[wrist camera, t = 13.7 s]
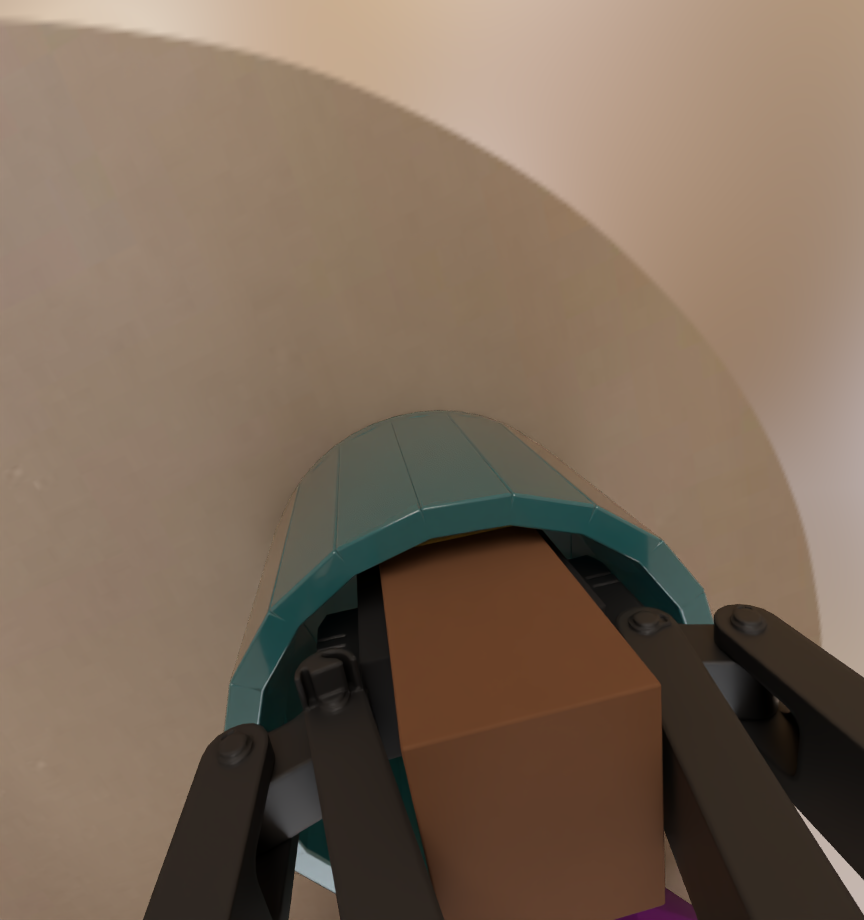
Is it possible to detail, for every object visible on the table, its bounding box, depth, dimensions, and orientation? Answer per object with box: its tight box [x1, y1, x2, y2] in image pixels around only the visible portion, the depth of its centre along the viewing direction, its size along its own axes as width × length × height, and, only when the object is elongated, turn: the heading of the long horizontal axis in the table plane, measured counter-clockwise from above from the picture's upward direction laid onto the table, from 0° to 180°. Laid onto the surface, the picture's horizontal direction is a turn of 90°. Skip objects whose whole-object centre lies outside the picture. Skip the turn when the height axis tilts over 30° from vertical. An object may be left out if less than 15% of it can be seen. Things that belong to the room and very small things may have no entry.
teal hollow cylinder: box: [224, 411, 714, 894], centre depth 18 cm, size 13×13×9 cm
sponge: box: [379, 526, 665, 920], centre depth 14 cm, size 4×5×12 cm
